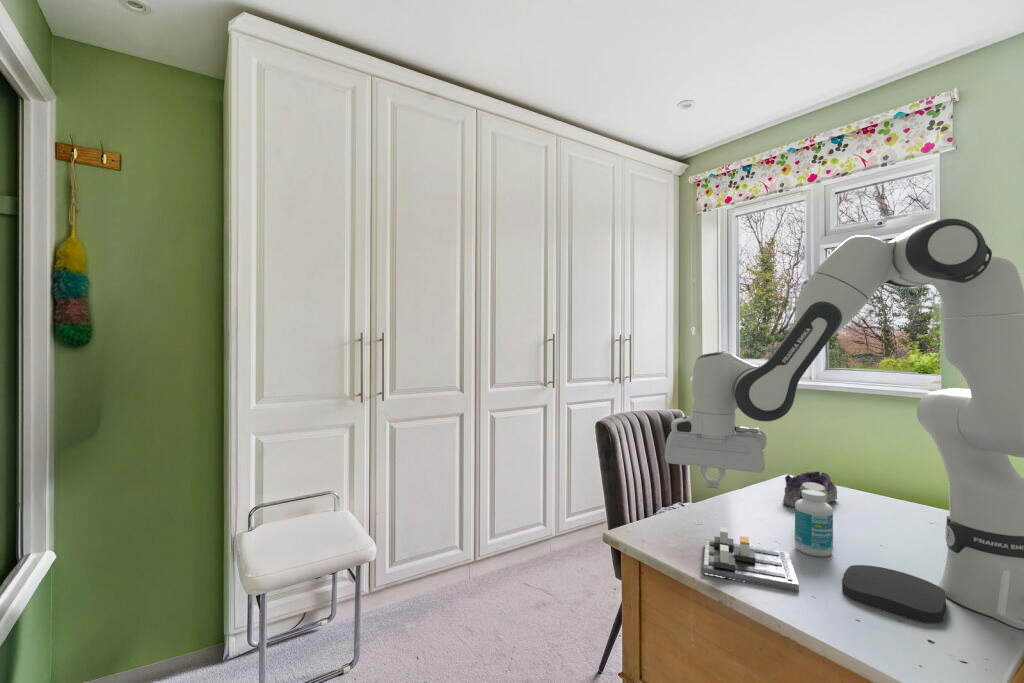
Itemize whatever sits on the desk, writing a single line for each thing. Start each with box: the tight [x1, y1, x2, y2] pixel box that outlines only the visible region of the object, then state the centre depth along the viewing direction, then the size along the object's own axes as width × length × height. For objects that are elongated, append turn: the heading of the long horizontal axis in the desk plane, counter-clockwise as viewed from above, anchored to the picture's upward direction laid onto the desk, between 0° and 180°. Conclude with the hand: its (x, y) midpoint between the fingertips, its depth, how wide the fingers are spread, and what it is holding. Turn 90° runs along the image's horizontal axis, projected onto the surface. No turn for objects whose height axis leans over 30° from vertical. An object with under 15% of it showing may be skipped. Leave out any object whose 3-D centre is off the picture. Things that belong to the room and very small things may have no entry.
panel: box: [702, 539, 800, 593], centre depth 100 cm, size 17×16×2 cm
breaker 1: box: [713, 526, 735, 550], centre depth 107 cm, size 4×4×4 cm
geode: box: [782, 471, 838, 510], centre depth 142 cm, size 20×12×10 cm, turn 126°
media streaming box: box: [841, 564, 947, 624], centre depth 88 cm, size 15×15×3 cm
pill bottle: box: [794, 490, 834, 558], centre depth 108 cm, size 8×7×14 cm
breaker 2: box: [714, 544, 735, 570], centre depth 97 cm, size 4×4×4 cm
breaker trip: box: [734, 535, 756, 563], centre depth 100 cm, size 4×4×4 cm
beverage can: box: [799, 482, 827, 503], centre depth 120 cm, size 6×7×12 cm
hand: (712, 487), depth 103 cm, fingers closed
